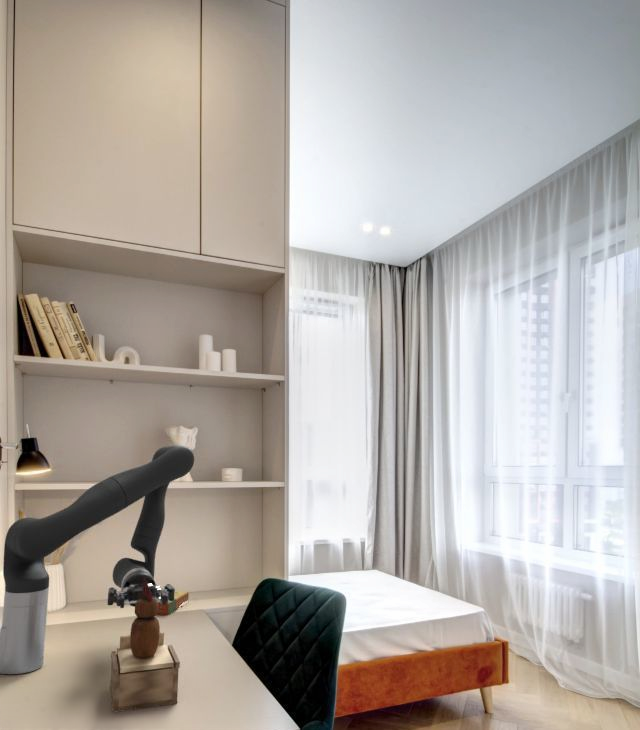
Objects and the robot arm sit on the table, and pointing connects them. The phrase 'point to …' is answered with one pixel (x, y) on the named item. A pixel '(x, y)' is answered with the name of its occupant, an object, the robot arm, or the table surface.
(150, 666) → the lid
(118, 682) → the light wooden box
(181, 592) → the carton
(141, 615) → the wooden figurine
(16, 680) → the table surface
